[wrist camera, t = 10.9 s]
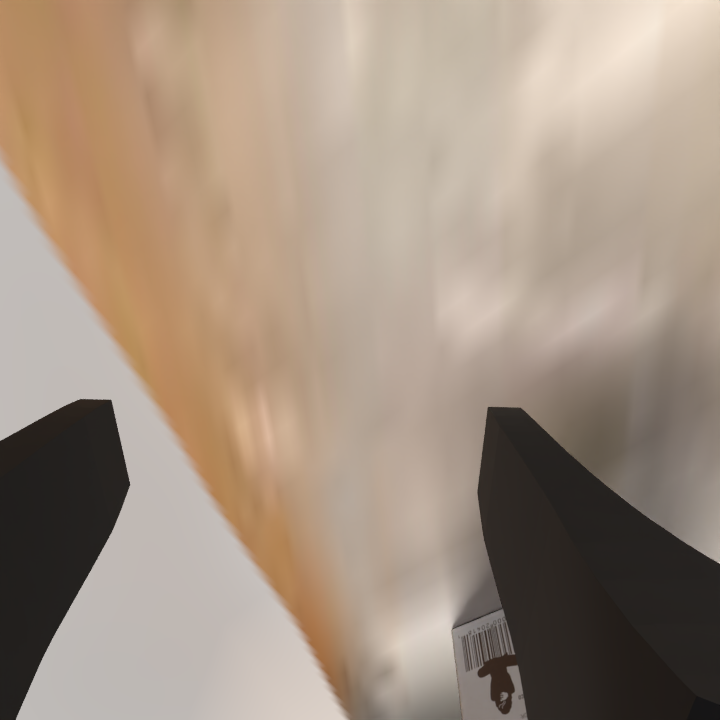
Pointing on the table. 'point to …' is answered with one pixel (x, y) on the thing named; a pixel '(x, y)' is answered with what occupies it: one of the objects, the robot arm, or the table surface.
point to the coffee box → (488, 670)
